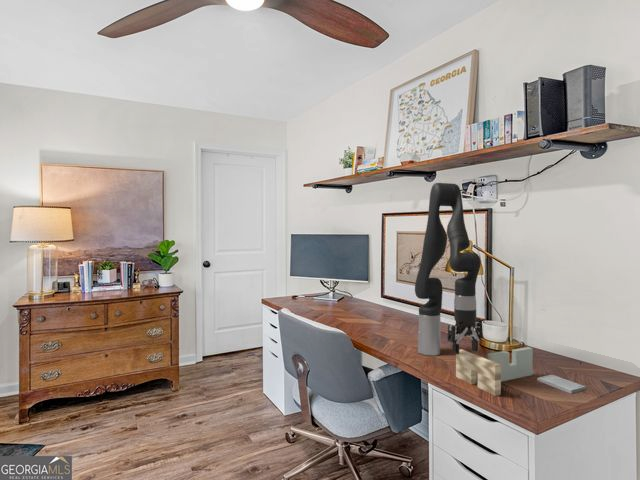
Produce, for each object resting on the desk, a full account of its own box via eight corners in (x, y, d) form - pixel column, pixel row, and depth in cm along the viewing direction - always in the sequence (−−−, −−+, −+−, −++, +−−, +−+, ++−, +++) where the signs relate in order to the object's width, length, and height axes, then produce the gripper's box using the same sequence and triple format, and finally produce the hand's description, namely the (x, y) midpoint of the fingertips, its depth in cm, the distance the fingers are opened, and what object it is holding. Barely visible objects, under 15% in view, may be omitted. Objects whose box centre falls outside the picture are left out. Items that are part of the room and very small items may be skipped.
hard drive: (587, 386, 133) (552, 373, 144) (571, 390, 129) (537, 377, 141) (587, 391, 133) (552, 378, 144) (571, 395, 130) (537, 381, 141)
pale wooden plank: (500, 394, 129) (500, 364, 129) (494, 395, 128) (495, 365, 128) (461, 375, 146) (461, 349, 145) (455, 376, 145) (456, 350, 144)
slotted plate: (492, 383, 138) (492, 355, 138) (487, 381, 140) (487, 353, 140) (532, 375, 146) (532, 348, 146) (527, 373, 148) (527, 347, 147)
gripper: (472, 304, 148) (472, 347, 148) (442, 307, 142) (442, 351, 142) (488, 307, 141) (488, 352, 141) (457, 311, 135) (457, 357, 135)
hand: (465, 352), depth 142 cm, fingers open, 8 cm apart
